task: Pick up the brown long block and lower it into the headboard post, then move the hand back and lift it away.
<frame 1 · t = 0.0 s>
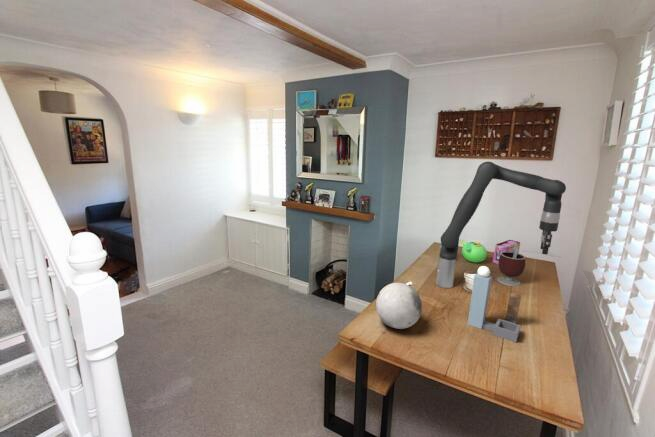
hand: (543, 251, 161), 29 cm above the table, tool pointing down, fingers open, 8 cm apart
moon model: (396, 325, 145), on the table
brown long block: (510, 322, 150), on the table
mate gourd: (509, 281, 196), on the table
bull figurine: (404, 298, 171), on the table
green rounded lump: (472, 261, 229), on the table
headboard post: (506, 334, 140), on the table
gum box: (505, 261, 231), on the table
milk bottle: (444, 262, 225), on the table
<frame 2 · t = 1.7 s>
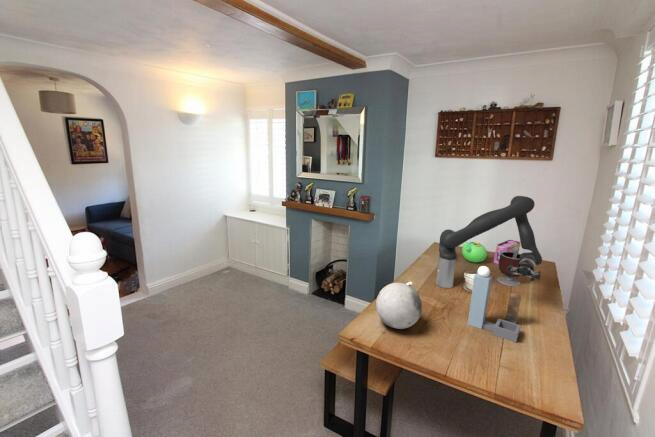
hand: (521, 276, 153), 20 cm above the table, tool horizontal, fingers open, 8 cm apart
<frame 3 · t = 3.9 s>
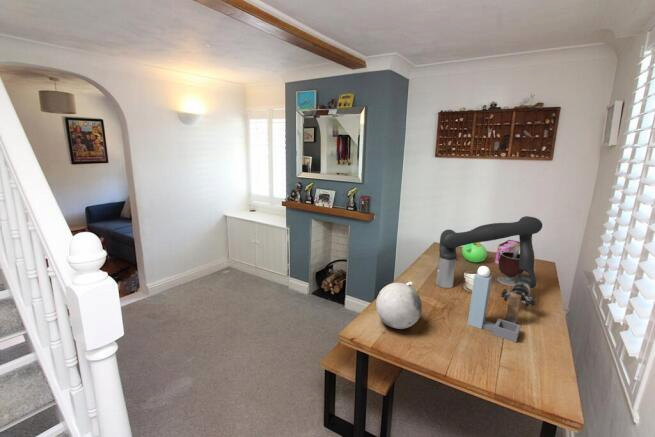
hand: (515, 302, 152), 8 cm above the table, tool horizontal, fingers open, 8 cm apart
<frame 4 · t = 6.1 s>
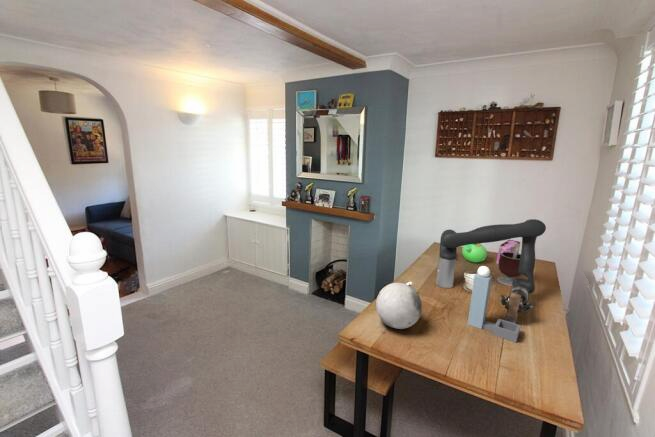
hand: (512, 309, 146), 8 cm above the table, tool horizontal, fingers closed on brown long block, 4 cm apart
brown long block: (510, 322, 149), on the table, touching gripper
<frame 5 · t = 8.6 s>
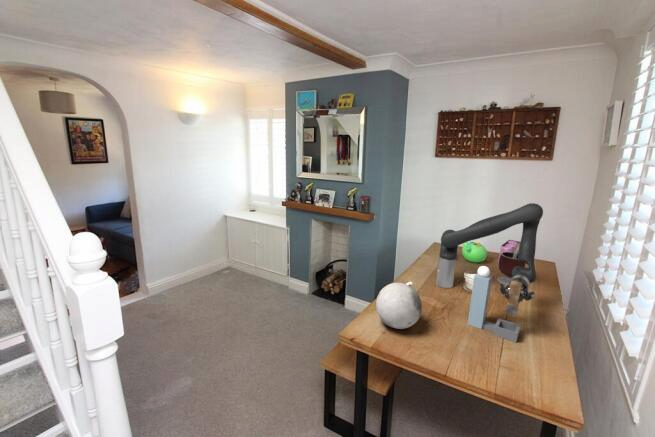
hand: (513, 298, 135), 18 cm above the table, tool horizontal, fingers closed on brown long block, 4 cm apart
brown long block: (511, 312, 139), point 10 cm above the table, touching gripper
when the fingers open (9 cm above the table, at t = 11.2 s): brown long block drops 1 cm, resting in headboard post.
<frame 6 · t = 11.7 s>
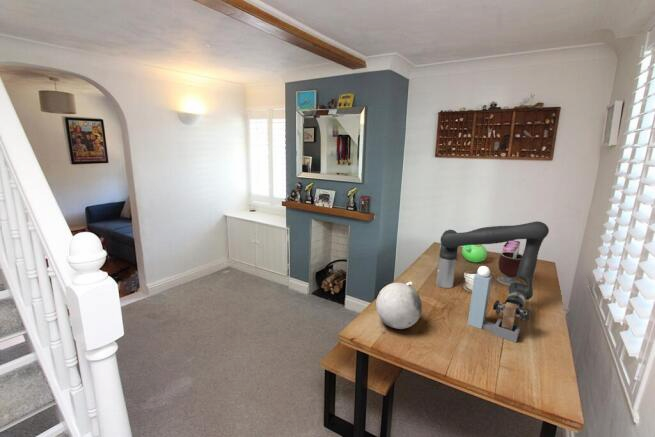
hand: (508, 316, 136), 10 cm above the table, tool horizontal, fingers open, 8 cm apart
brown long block: (506, 334, 140), resting in headboard post
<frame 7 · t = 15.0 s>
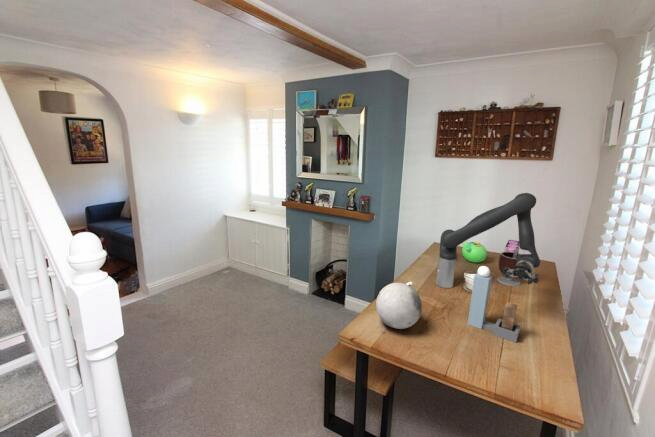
hand: (518, 279, 143), 22 cm above the table, tool horizontal, fingers open, 8 cm apart
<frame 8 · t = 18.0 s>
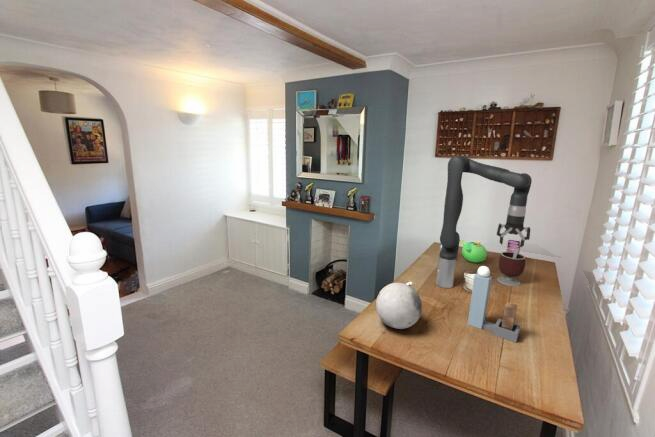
hand: (511, 245, 160), 32 cm above the table, tool pointing down, fingers open, 8 cm apart
at the end: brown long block 0.0 cm off-centre on the headboard post, point 0.0 cm above the headboard post's base; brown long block tilted 0°; the gripper is holding nothing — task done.
